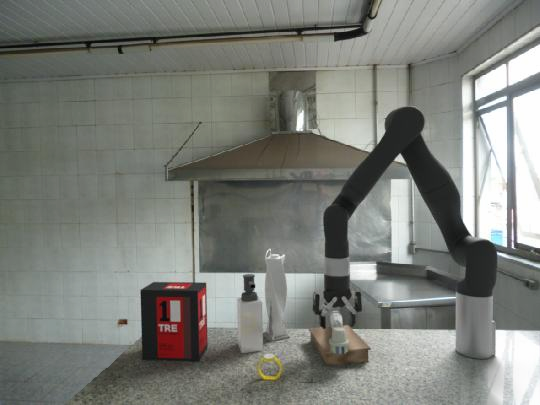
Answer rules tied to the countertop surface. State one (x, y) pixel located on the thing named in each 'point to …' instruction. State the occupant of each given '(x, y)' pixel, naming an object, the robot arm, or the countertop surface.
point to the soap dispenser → (249, 318)
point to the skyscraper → (275, 297)
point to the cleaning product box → (174, 321)
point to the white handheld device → (338, 334)
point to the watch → (269, 358)
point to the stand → (354, 354)
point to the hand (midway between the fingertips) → (337, 326)
